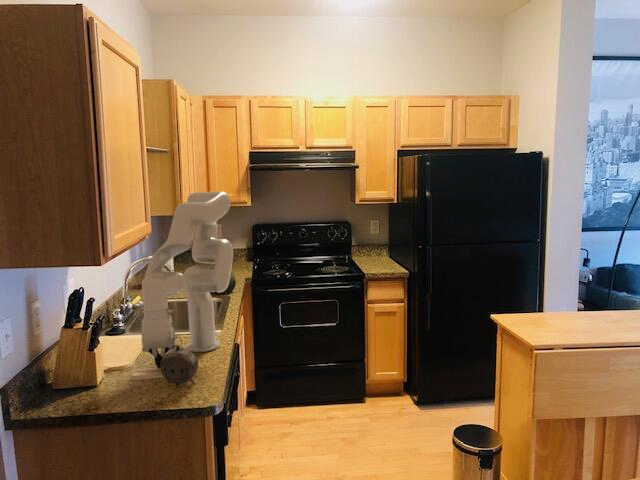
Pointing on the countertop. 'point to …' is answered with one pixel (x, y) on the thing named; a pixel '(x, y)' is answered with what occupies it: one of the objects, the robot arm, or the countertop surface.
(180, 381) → the alarm clock
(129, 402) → the countertop surface
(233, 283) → the squash
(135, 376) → the track
